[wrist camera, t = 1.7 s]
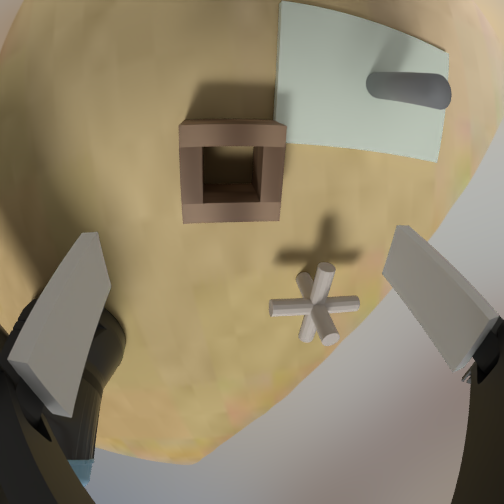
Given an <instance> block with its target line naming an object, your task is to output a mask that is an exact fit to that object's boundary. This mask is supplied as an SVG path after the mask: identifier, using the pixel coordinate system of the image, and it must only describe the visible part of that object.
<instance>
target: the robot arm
mask: <svg viewBox="0 0 504 504" xmlns="http://www.w3.org/2000/svg"><path fill="white" fill-rule="evenodd" d="M382 274H383V276H384V277H385V278H386V279H387V281H388V282H389V283H390V284H391V286H392V287H393V288H394V290H395V291H396V292H397V294H398V295H399V296H400V297H401V299H402V300H403V301H404V303H405V304H406V305H407V307H408V308H409V309H410V311H411V312H412V314H413V315H414V316H415V318H416V319H417V321H418V322H419V323H420V325H421V326H422V327H423V329H424V330H425V332H426V333H427V335H428V336H429V338H430V339H431V340H432V342H433V343H434V345H435V346H436V348H437V349H438V351H439V352H440V354H441V355H442V357H443V358H444V360H445V362H446V363H447V365H448V366H449V368H450V369H451V371H452V372H455V371H458V370H460V369H462V368H464V367H465V366H466V364H467V363H468V362H469V361H470V359H471V358H472V357H473V358H474V360H475V362H474V363H473V365H472V366H471V367H470V369H469V370H468V371H467V372H466V373H465V375H464V376H463V377H462V381H464V380H465V379H466V378H467V377H468V376H469V375H471V377H470V378H469V379H468V380H467V383H470V384H471V388H470V389H471V390H470V405H469V416H468V425H467V433H466V440H465V446H464V452H463V457H462V463H461V467H460V472H459V476H458V480H457V484H456V488H455V492H454V495H453V499H452V502H451V504H504V320H503V319H502V318H501V317H500V315H499V314H498V313H497V312H496V311H495V310H494V308H493V307H492V306H491V305H490V304H489V303H488V302H487V301H486V300H485V298H484V297H483V296H482V295H481V294H480V293H479V292H478V291H477V290H476V289H475V288H474V287H473V286H472V285H471V284H470V283H469V281H467V279H466V278H464V276H463V275H462V274H461V273H460V272H459V271H458V270H457V269H455V267H453V265H451V264H450V263H449V262H448V261H447V260H446V259H445V258H444V257H443V256H442V255H441V254H440V253H439V252H438V251H437V250H436V249H434V248H433V247H432V246H431V245H430V244H429V243H428V242H427V241H426V240H425V239H423V238H422V237H421V236H420V235H419V234H418V233H417V232H415V231H414V230H413V229H412V228H411V227H410V226H403V225H397V226H396V230H395V233H394V237H393V240H392V244H391V247H390V250H389V254H388V257H387V260H386V263H385V266H384V269H383V272H382ZM110 289H111V283H110V279H109V276H108V272H107V268H106V264H105V261H104V257H103V253H102V248H101V244H100V240H99V235H98V232H88V233H82V234H81V235H80V236H79V238H78V239H77V240H76V242H75V243H74V245H73V246H72V247H71V249H70V250H69V252H68V253H67V255H66V256H65V257H64V259H63V260H62V262H61V263H60V265H59V266H58V268H57V269H56V271H55V273H54V274H53V276H52V277H51V279H50V280H49V282H48V284H47V285H46V287H45V288H44V290H43V292H42V293H41V295H40V296H39V297H38V298H37V299H33V300H32V301H31V302H30V303H29V304H28V305H27V306H26V307H25V308H24V309H23V311H22V313H21V314H20V316H19V318H18V322H16V323H15V325H14V327H13V331H11V333H10V335H9V334H8V333H7V332H6V331H5V329H4V328H3V327H2V326H1V325H0V504H95V502H94V501H93V500H92V498H91V497H90V495H89V494H88V492H87V491H86V489H85V488H84V487H85V486H86V485H87V484H88V482H89V480H90V474H91V468H92V463H94V451H95V442H96V433H97V425H98V418H99V411H100V404H101V398H102V393H103V389H104V387H105V386H106V384H107V383H108V381H109V380H110V378H111V377H112V375H113V374H114V372H115V370H116V369H117V367H118V366H119V365H120V363H121V361H122V358H123V354H124V349H125V344H126V343H125V335H124V333H123V330H122V328H121V326H120V325H119V323H118V322H117V320H116V319H115V318H114V317H113V316H112V315H111V314H110V313H109V312H108V311H107V310H106V309H105V308H104V305H105V302H106V299H107V297H108V294H109V291H110Z"/></svg>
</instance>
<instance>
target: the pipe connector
mask: <svg viewBox="0 0 504 504" xmlns="http://www.w3.org/2000/svg"><path fill="white" fill-rule="evenodd" d="M335 270H336V269H335V267H334V266H333V265H332V264H330V263H327V262H322V263H319V264H318V267H317V271H316V274H315V278H314V282H313V280H312V278H311V276H310V275H309V273H307V272H302V273H300V274H299V275H297V277H296V282H297V285H298V287H299V289H300V292H301V294H302V296H303V298H297V299H271V300H270V301H269V313H270V316H271V317H272V316H293V315H304V318H303V321H302V325H301V328H300V332H299V339H300V340H301V341H303V342H311V341H312V340H313V338H314V335H315V332H316V330H317V332H318V334H319V337H320V339H321V342H322V344H323V345H324V346H330V345H333V344H335V343H336V342H337V341H338V340H339V338H340V336H339V334H338V331H337V329H336V327H335V325H334V323H333V321H332V319H331V317H330V315H329V313H339V312H351V311H358V309H359V306H360V301H359V298H358V297H357V296H339V297H327V296H328V293H329V290H330V287H331V283H332V280H333V277H334V273H335Z"/></svg>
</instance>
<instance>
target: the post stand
mask: <svg viewBox="0 0 504 504" xmlns="http://www.w3.org/2000/svg"><path fill="white" fill-rule="evenodd" d="M448 70H449V54H448V53H446V52H444V51H442V50H440V49H438V48H436V47H434V46H432V45H430V44H428V43H426V42H424V41H422V40H419V39H417V38H415V37H413V36H410V35H408V34H405V33H403V32H400V31H398V30H395V29H393V28H390V27H387V26H385V25H382V24H379V23H376V22H373V21H370V20H367V19H364V18H360V17H357V16H354V15H350V14H346V13H343V12H339V11H335V10H330V9H326V8H322V7H317V6H312V5H307V4H301V3H295V2H288V1H281V2H280V3H279V20H278V42H277V62H276V81H275V99H274V116H273V120H274V121H277V122H279V123H281V124H284V125H286V126H287V133H286V143H295V144H310V145H322V146H333V147H342V148H351V149H359V150H367V151H374V152H381V153H388V154H394V155H400V156H406V157H411V158H416V159H422V160H427V161H431V162H436V163H437V160H438V155H439V150H440V144H441V138H442V131H443V124H444V117H445V108H447V107H448V105H449V104H450V101H451V88H450V85H449V83H448Z"/></svg>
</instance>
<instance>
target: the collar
mask: <svg viewBox="0 0 504 504" xmlns="http://www.w3.org/2000/svg"><path fill="white" fill-rule="evenodd" d="M286 133H287V126H286V125H284V124H281V123H279V122H277V121H274V120H261V119H194V120H184V121H183V122H182V123H181V124H180V125H179V157H180V182H181V200H182V216H183V224H187V223H215V222H253V221H279V219H280V208H281V196H282V184H283V172H284V160H285V147H286ZM207 146H254V148H253V170H252V184H204V147H207Z"/></svg>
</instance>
